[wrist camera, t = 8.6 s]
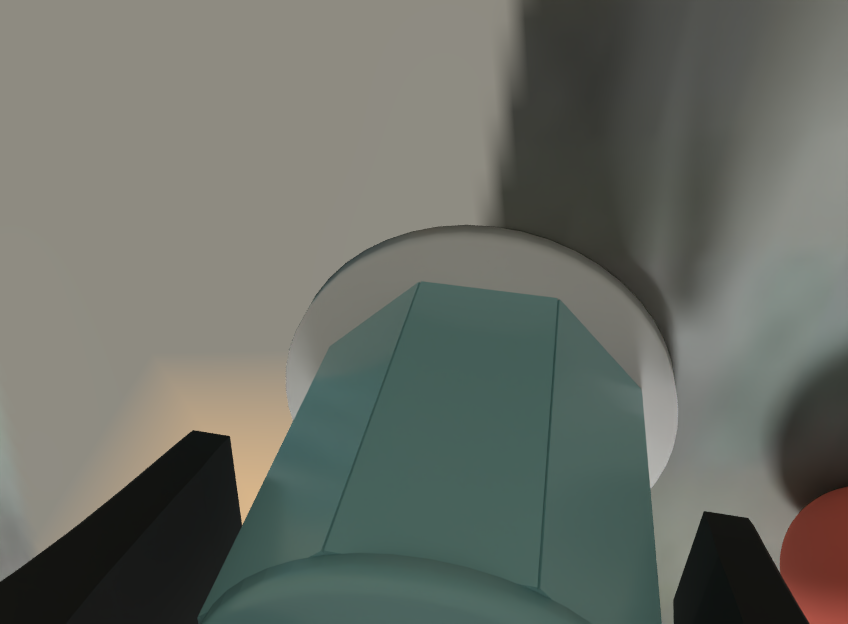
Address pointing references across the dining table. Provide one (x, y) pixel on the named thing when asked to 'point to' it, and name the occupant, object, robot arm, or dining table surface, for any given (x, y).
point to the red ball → (819, 559)
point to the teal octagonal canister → (454, 478)
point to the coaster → (503, 271)
